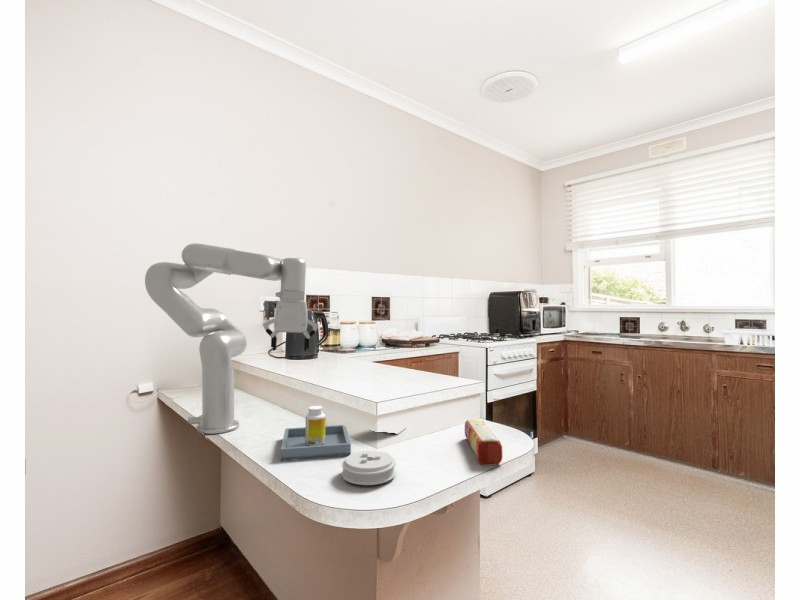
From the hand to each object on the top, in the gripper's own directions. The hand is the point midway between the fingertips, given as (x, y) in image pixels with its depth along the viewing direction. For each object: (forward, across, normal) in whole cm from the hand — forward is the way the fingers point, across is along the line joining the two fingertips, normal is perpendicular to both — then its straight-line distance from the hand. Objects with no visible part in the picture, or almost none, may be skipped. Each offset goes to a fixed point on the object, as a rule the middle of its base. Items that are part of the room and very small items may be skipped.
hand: (290, 350), depth 130 cm
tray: (+25, +10, -16) cm, 32 cm away
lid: (+25, +23, -39) cm, 51 cm away
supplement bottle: (+25, +10, -16) cm, 31 cm away
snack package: (+24, +55, -27) cm, 66 cm away
